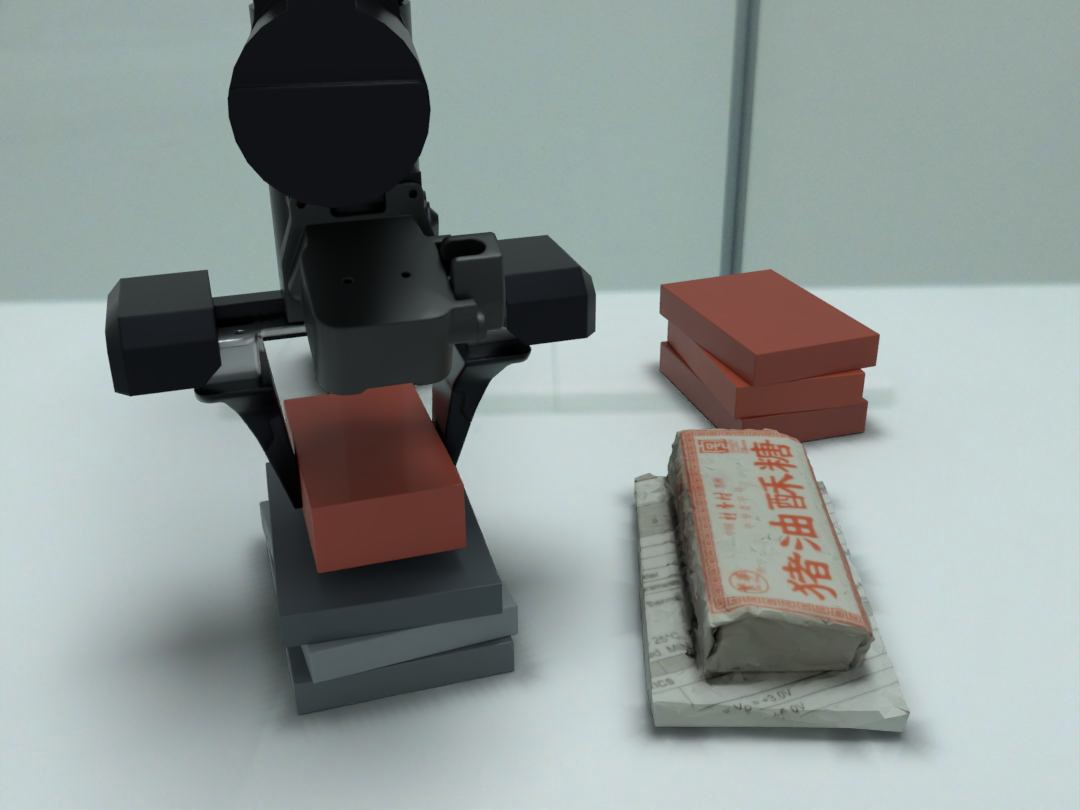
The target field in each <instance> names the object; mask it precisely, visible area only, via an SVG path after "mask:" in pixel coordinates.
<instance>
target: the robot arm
mask: <svg viewBox="0 0 1080 810" xmlns="http://www.w3.org/2000/svg"><path fill="white" fill-rule="evenodd" d="M248 11H249V21H250V34H249V35H248V37H247V39H246V42H245V43H244V45H243V47H242V50H241V51H240V54H239V56H238V58H237V60H236V62H235V63H234V66H233V69H232V73H231V79H230V83H229V88H228V94H227V113H228V114H227V115H228V121H229V124H230V127H231V131H232V134H233V138H234V141H235V143H236V145H237V147H238V148H239V150H240V153H241V154H242V156H243V157H244V159H245V161H246V163H247V164H248V165H249V167H251V169H252V170H253V171H254V172H255V173H256V174H257V175H258V176H259V177H260V179H261V180H262V181H263V182H265V183H266V184H268V192H269V200H270V210H271V218H272V219H271V220H272V227H273V236H274V244H275V245H274V246H275V254H276V262H277V263H276V264H277V272H278V280H279V282H278V283H279V289H275V290H268V291H267V290H266V291H257V292H248V293H239V294H238V293H237V294H229V295H219V296H213V295H212V288H211V282H210V275H209V269H200V270H189V271H179V272H170V273H159V274H151V275H150V274H149V275H139V276H132V277H131V276H130V277H121V278H119V280H118V281H117V282H116V283H115V284H114V286H113V287H112V289H111V290H110V291H109V293H108V294H107V299H106V311H105V312H106V313H105V323H104V325H105V326H104V336H105V344H106V345H105V347H106V353H107V360H108V364H109V370H110V375H111V380H112V386H113V392H114V393H116V394H121V395H123V396H128V397H137V396H145V395H153V394H160V393H168V392H176V391H185V390H191V389H192V390H193V392H194V397H195V399H196V400H197V401H198V402H200V403H203V404H216V403H223V404H225V405H227V406H228V407H229V408H230V409H231V410H233V411H234V412H235V413H236V414H237V415H238V416H239V417H240V419H241V420H242V421H243V422H244V424H245V425H246V426H247V428H248V429H249V430H250V432H251V433H252V435H253V436H254V437H255V439H256V440H257V442H258V444H259V445H260V447H261V449H262V451H263V453H264V455H265V457H266V458H267V461H268V462H270V464H271V466H272V468H273V470H274V472H275V474H276V476H277V477H278V479H279V481H280V483H281V485H282V487H283V489H284V491H285V493H286V494H287V496H288V498H289V500H290V502H291V504H292V506H293V508H294V509H300V508H303V503H302V493H301V483H300V475H299V471H298V467H297V463H296V459H295V455H294V452H293V448H292V444H291V441H290V437H289V433H288V430H287V426H286V421H285V414H284V410H283V408H282V405H281V400H280V397H279V393H278V390H277V387H276V383H275V378H274V376H273V371H272V367H271V365H270V360H269V357H268V353H267V349H266V346H265V343H264V342H269V341H270V342H271V341H278V340H286V339H295V338H305V337H307V340H308V346H309V350H310V354H311V355H310V356H311V360H312V363H313V369H314V370H313V371H314V376H315V379H316V382H317V384H318V385H319V387H320V389H322V390H324V391H325V392H327V393H328V394H335V395H355V394H361V393H363V392H364V391H365V390H367V389H369V388H377V387H384V386H392V385H399V384H407V383H413V384H414V385H416V386H418V387H420V386H421V387H422V386H430V385H431V420H432V422H433V424H434V426H435V428H436V430H437V432H438V434H439V436H440V438H441V440H442V442H443V444H444V446H445V448H446V450H447V452H448V454H449V456H450V458H451V460H452V462H453V464H454V466H455V468H456V467H457V465H458V462H459V459H460V456H461V453H462V450H463V448H464V445H465V442H466V440H467V437H468V434H469V430H470V428H471V424H472V422H473V419H474V416H475V413H476V411H477V409H478V406H479V404H480V402H481V400H482V398H483V397H484V395H485V392H486V390H487V388H488V387H489V385H490V383H491V381H492V380H493V379H494V378H495V377H497V375H499V374H500V373H501V372H502V371H503V370H504V369H506V368H507V367H508V366H510V365H513V364H520V363H523V362H526V361H527V360H528V359H529V357H530V355H531V353H532V346H536V345H545V344H551V343H559V342H567V341H575V340H582V339H588V338H589V337H591V336H592V335H593V334H594V333H596V332H597V331H596V330H597V329H596V326H597V325H596V323H597V322H596V321H597V319H596V318H597V293H596V289H595V284H594V281H593V277H592V275H591V274H589V272H587V270H585V268H584V267H582V265H580V264H579V262H577V261H576V260H575V259H574V258H573V257H572V256H571V255H570V254H569V253H568V252H567V250H565V249H564V248H563V247H561V245H559V243H557V242H556V241H555V239H553V238H552V237H551V236H549V234H542V235H541V234H540V235H532V236H531V235H530V236H521V237H514V238H513V237H511V238H503V239H498V238H497V234H496V233H495V232H493V231H484V232H476V233H465V234H454V235H452V234H449V233H448V234H440V220H439V219H440V218H439V214H438V212H437V211H435V209H433V208H432V207H431V205H430V204H431V203H430V201H428V200H427V193H426V190H424V189H423V182H422V181H423V180H422V171H421V170H420V157H421V155H422V152H423V150H424V147H425V144H426V141H427V138H428V135H429V131H430V120H431V112H432V111H431V110H432V109H431V99H430V91H429V87H428V83H427V79H426V77H425V73H424V71H423V68H422V65H421V61H420V59H419V56H418V52H417V50H416V47H415V44H414V42H413V41H414V40H413V23H412V5H411V0H252V3H250V4H249V5H248Z"/></svg>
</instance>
